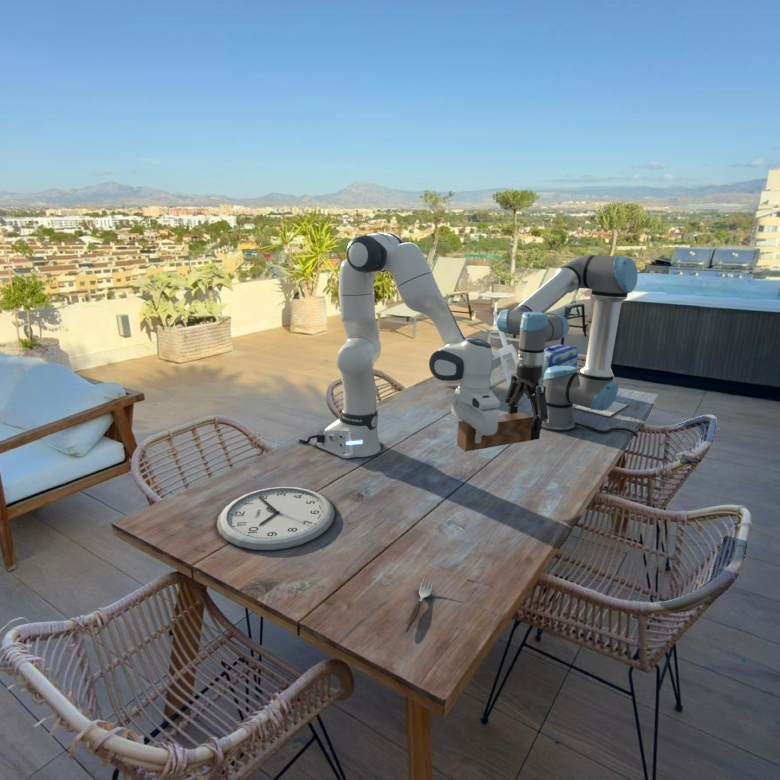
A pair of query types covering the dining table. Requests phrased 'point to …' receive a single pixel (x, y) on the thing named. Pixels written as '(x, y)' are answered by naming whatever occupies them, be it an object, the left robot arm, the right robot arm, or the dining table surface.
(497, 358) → the white plastic object
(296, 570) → the dining table surface
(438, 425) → the dining table surface
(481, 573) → the dining table surface
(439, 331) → the left robot arm
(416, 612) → the fork
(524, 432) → the bar
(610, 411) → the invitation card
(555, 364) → the lunch box
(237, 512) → the wall clock
